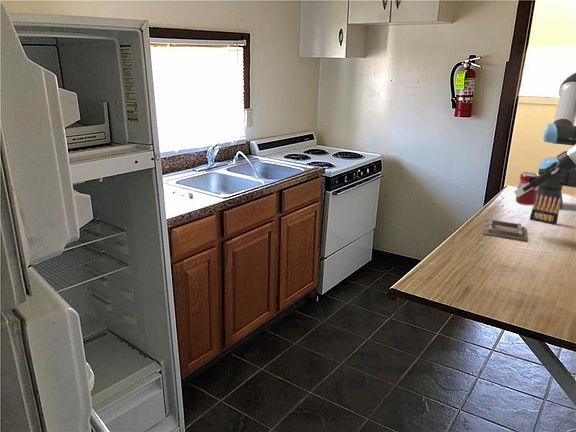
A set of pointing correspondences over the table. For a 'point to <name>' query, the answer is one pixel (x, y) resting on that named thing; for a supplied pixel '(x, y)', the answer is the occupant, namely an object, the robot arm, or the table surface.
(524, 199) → the soda can
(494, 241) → the table surface
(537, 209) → the ammunition clip
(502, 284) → the table surface
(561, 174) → the robot arm
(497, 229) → the keeper board
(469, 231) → the table surface
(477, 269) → the table surface
